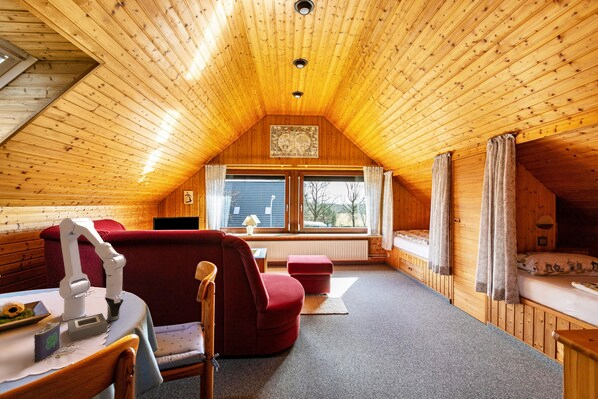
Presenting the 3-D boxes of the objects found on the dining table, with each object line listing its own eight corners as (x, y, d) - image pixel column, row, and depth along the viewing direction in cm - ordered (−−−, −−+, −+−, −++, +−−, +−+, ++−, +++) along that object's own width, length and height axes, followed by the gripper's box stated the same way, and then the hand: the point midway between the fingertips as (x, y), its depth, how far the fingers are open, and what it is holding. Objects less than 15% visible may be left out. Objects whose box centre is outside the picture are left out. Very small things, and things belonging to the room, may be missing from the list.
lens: (106, 318, 115) (106, 301, 115) (118, 315, 118) (118, 299, 118) (108, 321, 112) (108, 305, 112) (120, 318, 115) (121, 302, 115)
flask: (53, 346, 93) (54, 316, 93) (63, 346, 94) (63, 316, 94) (31, 363, 84) (32, 329, 84) (41, 362, 84) (42, 329, 84)
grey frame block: (67, 329, 105) (68, 320, 105) (101, 321, 113) (102, 312, 113) (70, 341, 97) (70, 331, 97) (106, 331, 104) (106, 322, 104)
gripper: (128, 285, 113) (128, 317, 113) (121, 277, 123) (120, 306, 123) (108, 289, 108) (107, 322, 108) (103, 280, 118) (102, 311, 118)
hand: (113, 314), depth 115 cm, fingers closed on lens, 4 cm apart
